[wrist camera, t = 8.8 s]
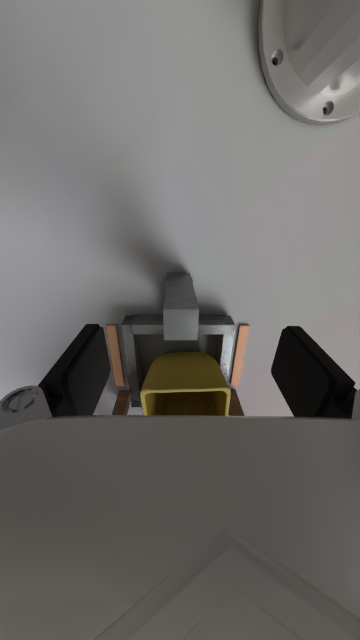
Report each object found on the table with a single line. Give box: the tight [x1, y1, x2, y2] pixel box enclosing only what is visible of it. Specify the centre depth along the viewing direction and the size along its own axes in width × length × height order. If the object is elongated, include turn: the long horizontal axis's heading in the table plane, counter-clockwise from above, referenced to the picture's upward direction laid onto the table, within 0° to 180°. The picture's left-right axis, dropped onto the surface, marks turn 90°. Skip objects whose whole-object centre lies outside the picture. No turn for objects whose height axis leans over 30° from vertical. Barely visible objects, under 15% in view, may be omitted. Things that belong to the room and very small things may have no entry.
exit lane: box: [106, 325, 249, 386], centre depth 29 cm, size 10×18×1 cm, turn 89°
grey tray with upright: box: [121, 273, 235, 407], centre depth 23 cm, size 18×13×10 cm
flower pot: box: [140, 351, 230, 416], centre depth 26 cm, size 9×9×9 cm
